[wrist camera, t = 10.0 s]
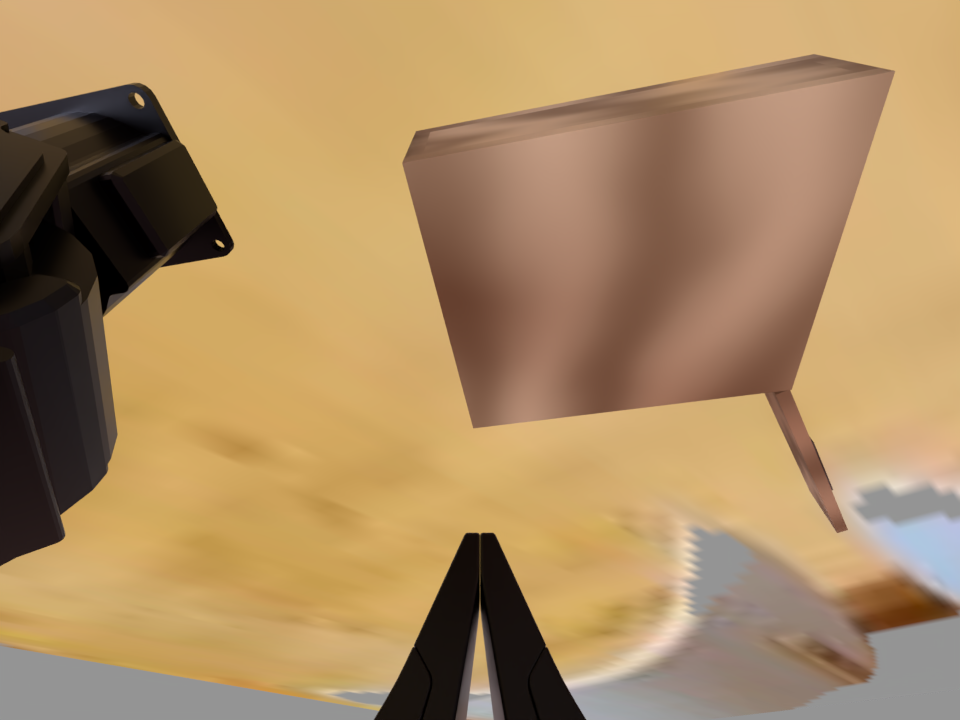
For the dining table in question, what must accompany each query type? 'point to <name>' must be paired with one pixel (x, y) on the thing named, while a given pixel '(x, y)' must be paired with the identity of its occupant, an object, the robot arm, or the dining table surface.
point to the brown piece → (643, 236)
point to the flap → (806, 455)
